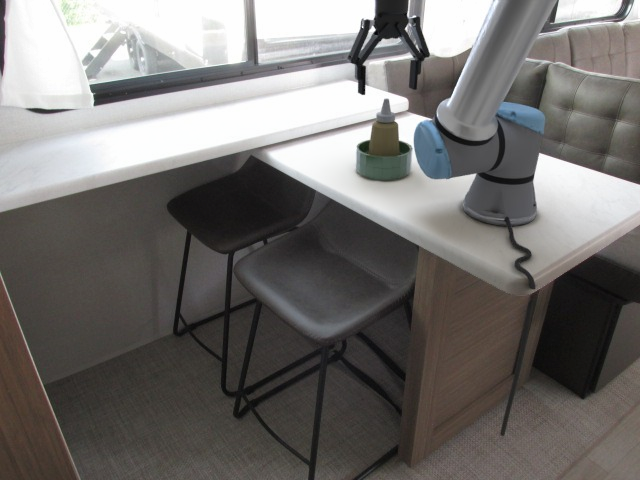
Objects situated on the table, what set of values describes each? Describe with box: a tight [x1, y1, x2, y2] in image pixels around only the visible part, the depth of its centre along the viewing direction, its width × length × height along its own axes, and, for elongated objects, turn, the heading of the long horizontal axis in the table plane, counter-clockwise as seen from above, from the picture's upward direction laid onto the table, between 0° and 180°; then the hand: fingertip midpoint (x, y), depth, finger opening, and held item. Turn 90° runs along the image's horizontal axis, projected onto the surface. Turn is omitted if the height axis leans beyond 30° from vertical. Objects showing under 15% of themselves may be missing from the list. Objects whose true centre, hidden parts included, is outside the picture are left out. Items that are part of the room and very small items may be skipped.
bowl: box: [355, 139, 414, 182], centre depth 132 cm, size 14×14×6 cm
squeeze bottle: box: [368, 98, 400, 157], centre depth 129 cm, size 8×8×18 cm
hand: (387, 91), depth 123 cm, fingers open, 13 cm apart
